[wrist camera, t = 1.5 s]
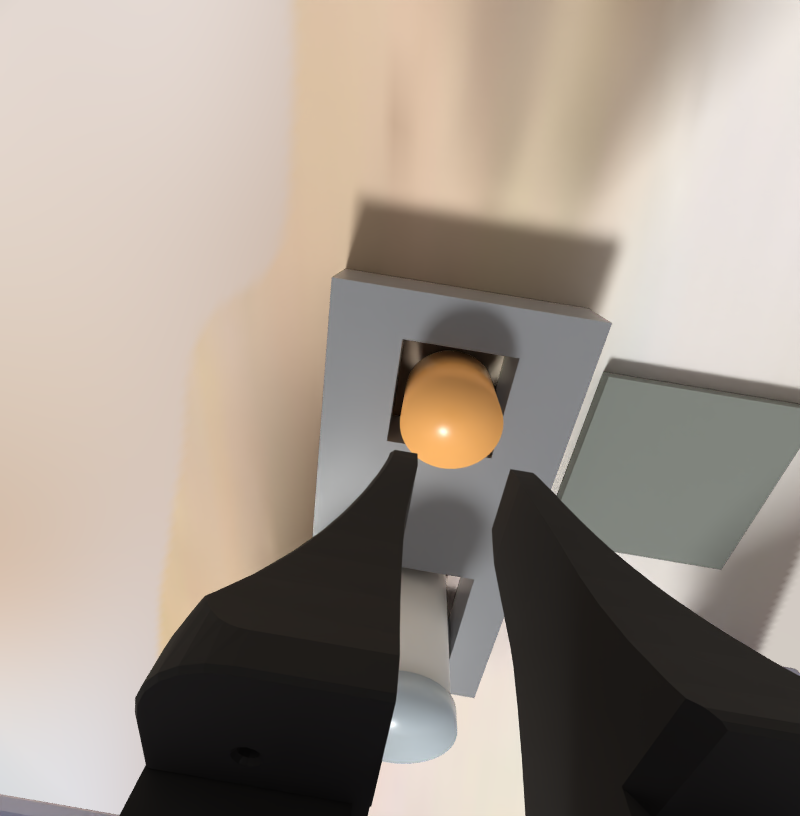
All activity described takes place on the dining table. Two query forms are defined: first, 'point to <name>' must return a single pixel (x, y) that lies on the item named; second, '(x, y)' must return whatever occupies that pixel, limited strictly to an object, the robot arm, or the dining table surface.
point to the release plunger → (450, 411)
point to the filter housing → (438, 487)
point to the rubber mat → (677, 467)
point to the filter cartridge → (422, 673)
